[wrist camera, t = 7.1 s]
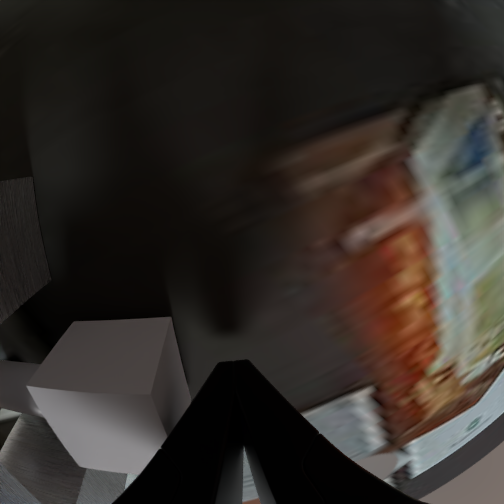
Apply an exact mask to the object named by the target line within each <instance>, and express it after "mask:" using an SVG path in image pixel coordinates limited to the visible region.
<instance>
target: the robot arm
mask: <svg viewBox="0 0 504 504" xmlns="http://www.w3.org/2000/svg"><path fill="white" fill-rule="evenodd" d="M244 448H245V452H246V455H247V459H248V462H249V466H250V469H251V473H252V476H253V479H254V483H255V486H256V489H257V493H258V496H259V499H260V502H261V504H429V503H425V502H422V501H419V500H417V499H414V498H412V497H410V496H408V495H406V494H405V493H403V492H401V491H399V490H398V489H396V488H394V487H393V486H391V485H389V484H388V483H386V482H384V481H383V480H381V479H379V478H378V477H376V476H374V475H373V474H372V473H370V472H368V471H367V470H365V469H364V468H362V467H361V466H359V465H358V464H357V463H355V462H354V461H352V460H351V459H350V458H348V457H347V456H346V455H344V454H343V453H342V452H341V451H340V450H338V449H337V448H336V447H335V446H334V445H333V444H332V443H330V442H329V441H328V440H327V439H326V438H325V437H324V436H323V435H322V434H319V431H318V430H317V429H316V428H314V427H313V426H312V425H311V424H310V423H309V422H308V421H307V420H306V419H305V418H304V417H303V416H302V415H301V414H300V413H299V412H298V411H297V410H296V409H295V408H294V407H293V406H292V405H291V404H290V403H289V402H288V401H287V400H286V399H285V398H284V397H283V396H282V395H281V394H280V393H279V391H278V390H277V389H276V388H275V387H274V386H273V385H272V384H271V383H270V382H269V381H268V380H267V379H266V378H265V377H264V376H263V375H262V374H261V373H260V371H259V370H258V369H257V368H256V367H255V366H254V365H253V364H252V363H251V362H250V361H249V360H247V359H245V360H236V361H225V362H219V363H218V364H217V365H216V366H215V368H214V369H213V371H212V372H211V374H210V375H209V377H208V378H207V380H206V381H205V383H204V384H203V386H202V387H201V389H200V390H199V392H198V393H197V395H196V396H195V398H194V399H193V401H192V402H191V404H190V405H189V406H188V408H187V409H186V411H185V412H184V414H183V415H182V417H181V418H180V420H179V421H178V422H177V424H176V425H175V427H174V428H173V430H172V431H171V432H170V434H169V435H168V437H167V438H166V440H165V441H164V442H163V444H162V445H161V449H158V450H157V452H156V453H155V455H154V456H153V458H152V459H151V460H150V462H149V463H148V464H147V465H146V467H145V468H144V469H143V471H142V472H141V473H140V474H139V475H138V477H137V478H136V479H135V480H134V481H133V482H132V483H131V484H130V485H129V486H128V487H127V489H126V490H125V491H124V492H123V493H122V494H121V495H120V496H119V497H118V498H117V499H116V500H115V501H114V502H113V503H112V504H242V493H243V452H244Z"/></svg>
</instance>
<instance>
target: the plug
mask: <svg viewBox="0 0 504 504" xmlns="http://www.w3.org/2000/svg"><path fill="white" fill-rule="evenodd" d="M190 404H191V397H190V393H189V389H188V386H187V382H186V378H185V374H184V370H183V366H182V362H181V358H180V354H179V350H178V345H177V341H176V337H175V332H174V328H173V323H172V318H171V317H159V318H143V319H124V320H101V321H74V322H73V323H72V324H71V325H70V327H69V328H68V329H67V331H66V332H65V333H64V334H63V336H62V337H61V338H60V340H59V341H58V342H57V344H56V345H55V346H54V347H53V349H52V350H51V351H50V353H49V354H48V356H47V357H46V358H45V360H44V361H43V362H42V364H35V363H24V362H15V361H7V360H0V409H1V408H4V409H8V410H12V411H16V412H20V413H25V414H29V415H34V416H39V417H44V418H45V419H46V420H47V422H48V423H49V425H50V427H51V428H52V430H53V431H54V433H55V434H56V435H57V437H58V438H59V440H60V441H61V443H62V444H63V445H64V447H65V448H66V449H67V451H68V452H69V454H70V455H71V456H72V457H73V459H74V460H75V461H76V463H77V464H78V465H79V466H80V467H84V468H90V469H96V470H102V471H109V472H117V473H126V474H137V475H139V474H140V473H141V472H142V471H143V469H144V468H145V467H146V465H147V464H148V463H149V462H150V460H151V459H152V458H153V456H154V455H155V453H156V452H157V450H158V449H161V445H162V444H163V442H164V441H165V440H166V438H167V437H168V435H169V434H170V432H171V431H172V430H173V428H174V427H175V425H176V424H177V422H178V421H179V420H180V418H181V417H182V415H183V414H184V412H185V411H186V409H187V408H188V406H189V405H190Z"/></svg>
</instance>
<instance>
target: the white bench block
mask: <svg viewBox="0 0 504 504" xmlns="http://www.w3.org/2000/svg"><path fill="white" fill-rule="evenodd" d="M51 280H52V279H51V276H50V272H49V268H48V264H47V260H46V255H45V251H44V246H43V241H42V237H41V231H40V226H39V220H38V214H37V208H36V201H35V194H34V186H33V177H25V178H18V179H12V180H6V181H0V324H1V323H2V322H3V321H4V320H6V319H7V318H8V317H9V316H10V315H11V314H12V313H13V312H14V311H16V310H17V309H18V308H19V307H20V306H21V305H22V304H24V303H25V302H26V301H27V300H28V299H29V298H30V297H32V296H33V295H34V294H35V293H36V292H38V291H39V290H40V289H41V288H42V287H44V286H45V285H46V284H47V283H48V282H50V281H51ZM126 479H127V474H126V473H117V472H109V471H102V470H96V469H90V468H84V467H80V466H79V465H78V464H77V463H76V461H75V460H74V459H73V457H72V456H71V455H70V454H69V452H68V451H67V449H66V448H65V447H64V445H63V444H62V443H61V441H60V440H59V438H58V437H57V435H56V434H55V433H54V431H53V430H52V428H51V427H50V425H49V423H48V422H47V420H46V419H45V418H44V417H39V416H34V415H29V414H25V413H22V414H21V415H20V417H19V419H18V420H17V422H16V424H15V426H14V427H13V429H12V431H11V433H10V434H9V436H8V438H7V440H6V441H5V443H4V445H3V447H2V449H1V451H0V504H112V503H113V502H114V501H115V500H116V499H117V498H118V497H119V496H120V495H121V494H122V493H123V492H124V489H125V484H126Z"/></svg>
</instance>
